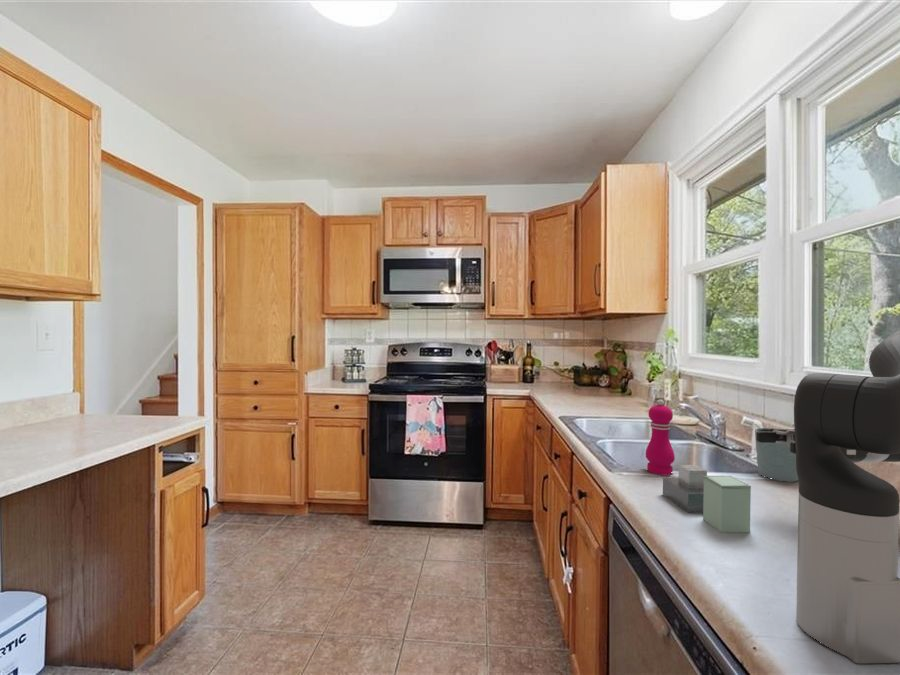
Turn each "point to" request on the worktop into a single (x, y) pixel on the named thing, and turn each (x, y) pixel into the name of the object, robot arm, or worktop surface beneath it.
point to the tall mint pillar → (727, 503)
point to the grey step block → (686, 488)
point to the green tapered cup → (775, 460)
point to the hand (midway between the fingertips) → (773, 442)
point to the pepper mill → (660, 440)
